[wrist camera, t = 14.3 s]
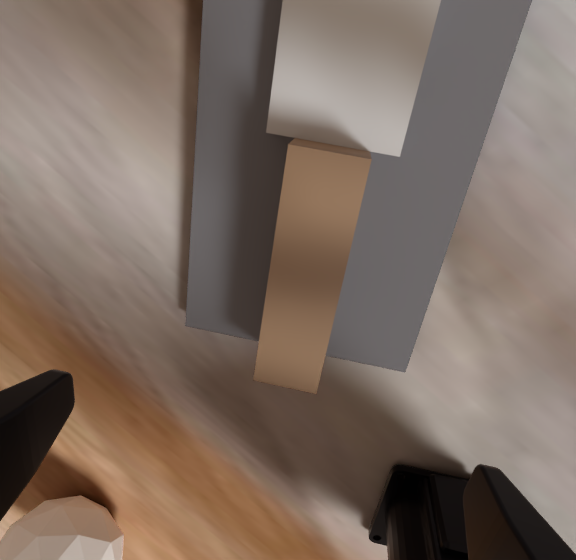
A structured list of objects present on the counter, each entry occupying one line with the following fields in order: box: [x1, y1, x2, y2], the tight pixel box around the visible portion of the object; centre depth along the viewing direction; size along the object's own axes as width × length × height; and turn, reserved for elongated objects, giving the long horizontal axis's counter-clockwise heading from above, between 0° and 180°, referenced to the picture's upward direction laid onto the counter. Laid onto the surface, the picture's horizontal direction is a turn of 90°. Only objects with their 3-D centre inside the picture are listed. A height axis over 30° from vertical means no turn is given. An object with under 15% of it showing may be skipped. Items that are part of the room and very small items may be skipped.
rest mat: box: [185, 0, 532, 372], centre depth 17 cm, size 22×11×1 cm, turn 171°
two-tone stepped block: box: [253, 0, 441, 394], centre depth 16 cm, size 17×5×3 cm, turn 171°
